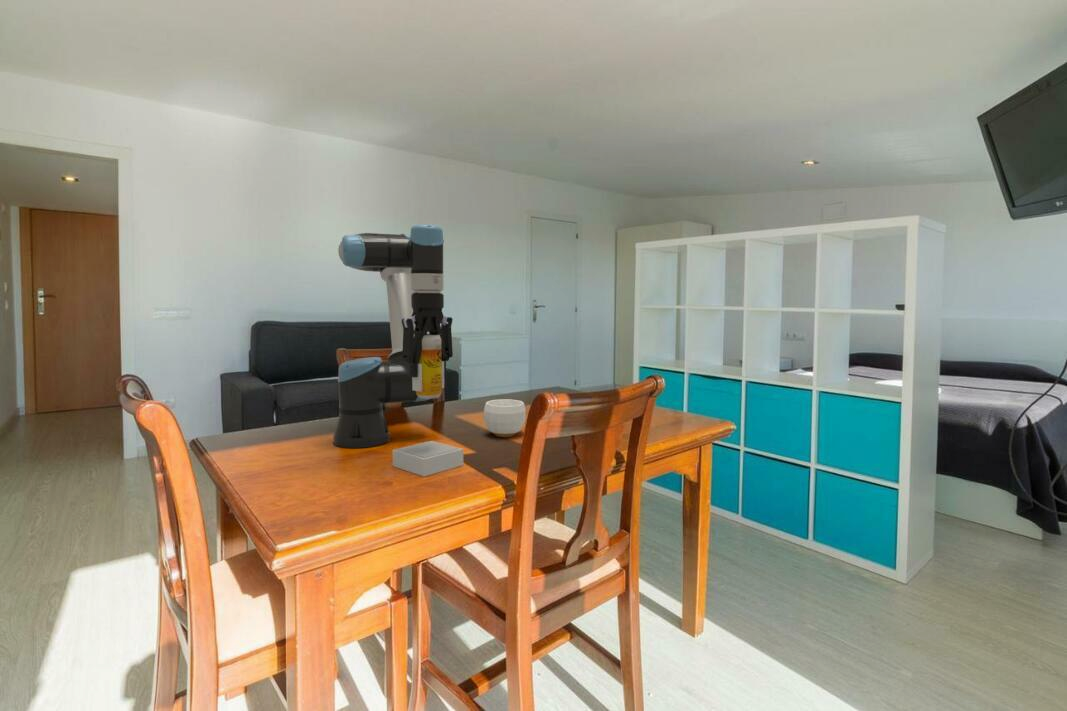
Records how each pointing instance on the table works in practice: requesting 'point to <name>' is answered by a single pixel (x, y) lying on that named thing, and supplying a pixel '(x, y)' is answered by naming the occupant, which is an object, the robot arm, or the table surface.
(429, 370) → the yellow labeled bottle
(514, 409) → the cup
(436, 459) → the pedestal
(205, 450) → the table surface
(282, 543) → the table surface
